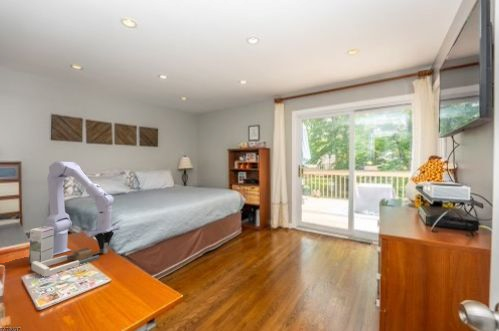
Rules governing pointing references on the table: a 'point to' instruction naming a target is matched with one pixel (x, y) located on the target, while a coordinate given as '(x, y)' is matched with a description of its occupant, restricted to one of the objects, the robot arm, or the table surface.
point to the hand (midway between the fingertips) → (103, 247)
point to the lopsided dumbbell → (88, 252)
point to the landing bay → (85, 259)
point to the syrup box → (41, 244)
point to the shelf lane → (45, 271)
